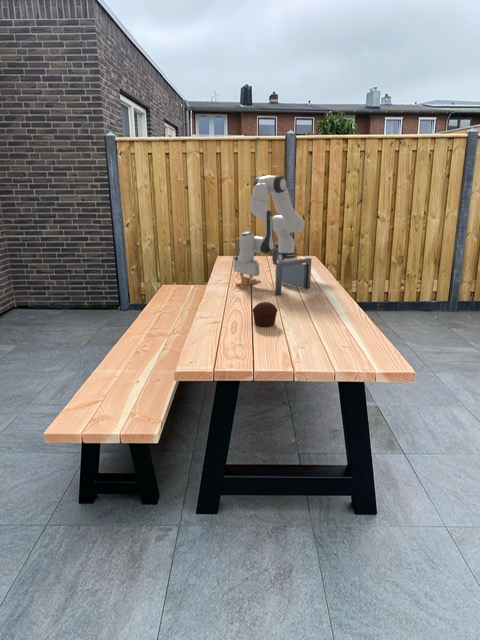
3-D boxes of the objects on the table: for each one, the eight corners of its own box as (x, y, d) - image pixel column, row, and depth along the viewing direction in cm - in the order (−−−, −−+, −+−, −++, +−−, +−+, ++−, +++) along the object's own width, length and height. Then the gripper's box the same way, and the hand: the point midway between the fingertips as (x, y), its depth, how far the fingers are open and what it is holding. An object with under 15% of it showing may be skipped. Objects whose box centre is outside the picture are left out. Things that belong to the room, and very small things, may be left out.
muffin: (266, 330, 198) (266, 308, 195) (246, 324, 205) (247, 303, 202) (282, 323, 207) (283, 302, 204) (263, 318, 214) (263, 298, 211)
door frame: (306, 287, 275) (308, 258, 270) (309, 288, 273) (311, 258, 268) (275, 294, 258) (276, 263, 252) (278, 295, 256) (279, 263, 251)
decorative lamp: (269, 264, 348) (270, 224, 339) (275, 260, 365) (277, 222, 356) (293, 266, 342) (294, 225, 333) (298, 261, 359) (300, 223, 350)
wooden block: (249, 263, 349) (249, 237, 343) (248, 266, 340) (248, 239, 334) (236, 263, 350) (236, 237, 344) (235, 265, 341) (235, 239, 335)
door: (306, 288, 272) (307, 264, 267) (304, 288, 271) (305, 265, 267) (280, 281, 287) (280, 259, 283) (278, 282, 286) (279, 260, 282)
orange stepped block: (246, 285, 280) (246, 278, 279) (241, 283, 284) (241, 277, 283) (260, 282, 288) (260, 276, 287) (255, 281, 292) (255, 274, 290)
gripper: (262, 260, 273) (261, 283, 277) (239, 256, 288) (239, 277, 292) (254, 261, 269) (253, 284, 273) (231, 257, 284) (231, 278, 288)
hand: (246, 280), depth 283 cm, fingers closed on orange stepped block, 5 cm apart
